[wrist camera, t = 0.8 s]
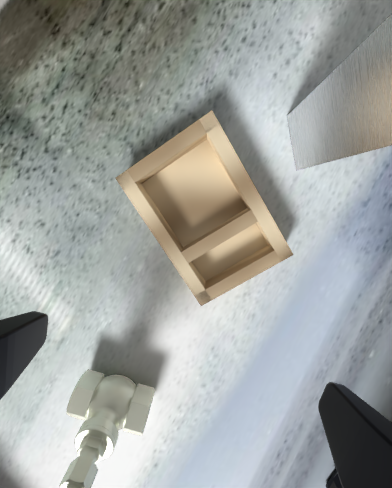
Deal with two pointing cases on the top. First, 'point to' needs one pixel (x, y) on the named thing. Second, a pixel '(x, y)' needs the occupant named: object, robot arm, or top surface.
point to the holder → (205, 210)
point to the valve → (103, 420)
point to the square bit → (347, 106)
